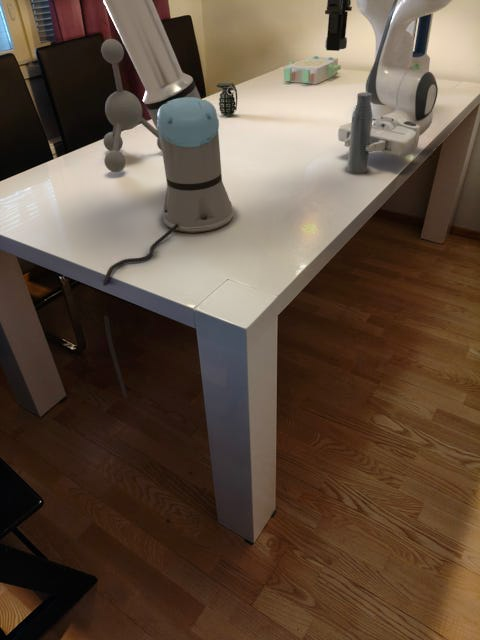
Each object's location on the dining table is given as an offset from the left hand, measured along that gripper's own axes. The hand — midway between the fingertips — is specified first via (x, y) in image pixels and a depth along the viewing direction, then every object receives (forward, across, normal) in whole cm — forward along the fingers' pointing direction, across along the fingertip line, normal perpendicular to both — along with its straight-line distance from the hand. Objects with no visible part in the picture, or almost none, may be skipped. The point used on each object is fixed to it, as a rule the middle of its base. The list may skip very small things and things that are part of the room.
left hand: (335, 48), depth 105 cm
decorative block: (+28, +105, +31) cm, 112 cm away
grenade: (+29, +46, +45) cm, 70 cm away
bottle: (+28, +6, -7) cm, 30 cm away
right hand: (+22, +5, -7) cm, 24 cm away
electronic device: (+27, +87, -10) cm, 92 cm away
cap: (-2, 0, 0) cm, 2 cm away
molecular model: (+30, +1, +54) cm, 61 cm away
